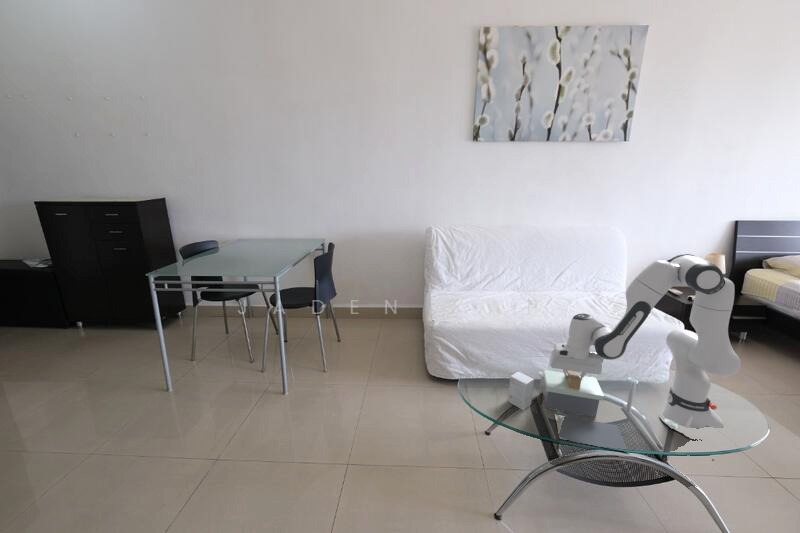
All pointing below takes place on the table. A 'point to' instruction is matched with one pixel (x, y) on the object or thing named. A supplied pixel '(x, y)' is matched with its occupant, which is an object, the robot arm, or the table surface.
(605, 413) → the table surface
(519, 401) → the small box
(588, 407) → the storage box
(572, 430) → the mat
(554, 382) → the lid
